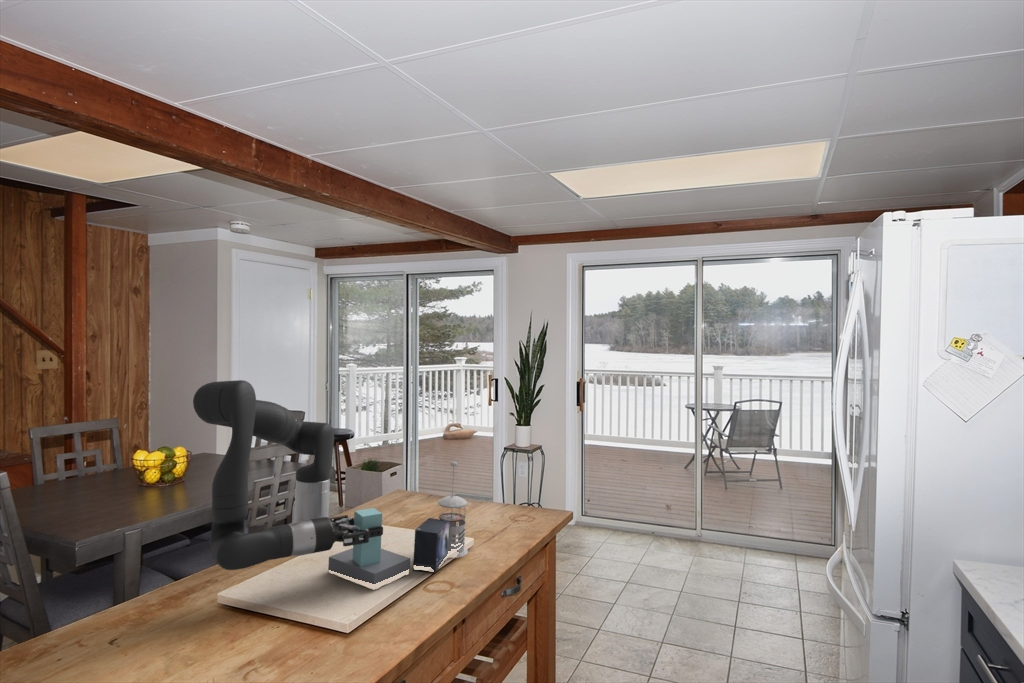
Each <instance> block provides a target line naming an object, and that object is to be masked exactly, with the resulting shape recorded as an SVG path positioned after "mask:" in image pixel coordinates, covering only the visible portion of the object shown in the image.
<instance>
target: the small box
mask: <svg viewBox="0 0 1024 683" xmlns="http://www.w3.org/2000/svg"><path fill="white" fill-rule="evenodd" d="M449 522H450V521H447V520H440V519H438V518H432V517H431V518H430V517H428V518H426V520H425V521H424V522H422V523H421V524H420V525H419V526H418V527H416V528H415V529H414V542H413V559H412V560H413V561H412V566H413V565H416V566H424V567H431V568H432V569H433V570H434V573H433V574H436V572H438V570H439V569H438V567H439V565H440V564H441V562H442V561H443V559H444V558H445V557H446V556H447V554H448V541H449Z"/></svg>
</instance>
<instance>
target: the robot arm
mask: <svg viewBox="0 0 1024 683" xmlns="http://www.w3.org/2000/svg"><path fill="white" fill-rule="evenodd" d="M192 404H193V409H194V412H195V414H196V415H197V416H198V418H199V419H201V421H203V422H204V423H206V424H209V425H215V426H223V427H227V428H231V438H230V443H229V444H228V445H229V446H228V448H227V450H226V453H225V455H224V456H223V458H222V460H221V462H220V464H219V466H218V467H217V469H216V472H215V474H214V477H213V481H212V485H211V511H212V522H211V531H210V543H209V544H210V545H209V547H210V555H211V558H212V560H213V561H214V562H215V563H216V564H217V565H218V566H219V567H221V568H222V569H223V570H227V571H236V570H243V569H246V568H250V567H254V566H256V565H259V564H262V563H264V562H267V561H271V560H277V559H283V558H289V557H297V556H298V557H300V556H305V555H311V554H316V553H322V552H326V551H330V550H331V549H332V548H333V545H334V544H335V543H336V542H339V543H342V546H343V547H351V546H353V545H357V544H363V543H368V542H369V538H371V537H377V536H381V537H382V536H383V534H384V527H383V526H376V527H370V528H360V527H359V526H354V516H349V515H348V514H347V515H346V514H345V515H339V516H334V517H329V514H330V511H329V510H330V492H331V491H330V489H331V488H330V487H331V471H332V467H333V466H332V465H333V454H334V445H335V443H334V442H335V431H334V428H333V426H332V425H331V424H330V423H327V422H316V421H302V420H301V421H300V420H296V416H295V414H294V413H293V412H292V411H291V410H290V409H288V408H287V407H285V406H282V405H281V404H279V403H275V402H272V401H268V400H259V399H257V395H256V392H255V389H254V386H253V385H252V384H251V383H250V382H248V381H247V380H242V379H241V380H240V379H238V380H224V381H222V380H221V381H212V382H209V383H205V384H204V385H202V386H200V387H198V388H197V390H196V391H195V393H194V396H193V398H192ZM253 437H255V438H258V439H260V440H263V441H265V442H268V443H272V444H276V445H283V446H284V447H286V448H288V449H289V450H290V451H292V452H295V453H296V454H299V455H308V456H314V457H313V462H312V463H310V464H307V465H303V466H300V467H298V468H297V470H295V471H296V472H295V490H294V491H295V492H294V494H295V495H294V496H295V497H294V504H293V505H292V518H291V519H292V520H291V523H288V524H287V523H286V524H281V525H276V526H269V527H266V528H264V529H263V530H261V531H257V532H253V533H248V534H245V533H246V532H245V528H246V527H245V520H246V518H247V516H248V514H249V483H248V482H249V466H250V465H249V464H250V456H251V451H252V450H251V448H252V444H253ZM354 531H355V533H354ZM361 535H363V536H361Z"/></svg>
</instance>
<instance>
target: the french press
mask: <svg viewBox="0 0 1024 683" xmlns="http://www.w3.org/2000/svg"><path fill="white" fill-rule="evenodd" d="M457 466H458V462H457V461H451V462H450V467H453V469H452V473H453V474H452V485H455V484H454V480H455V476H454V475H455V467H457ZM451 490H452V495H447V496H445V497H442V498H440V499H439V500H438V501H437V505H438V506H440V507H443V508H445V509H446V508H447V509H458V510H459V511H458V512H453V511H450V512H444V513H441V514H439V516H438V518H439V520H447V521H450V522H449V541H448V551H451V549H457V548H459V547H460V546H461V545H462V544H463V546H462V547H461V548H460V549H459V550H457V552H459V554H458V555H457V557H456V558H455V559H458V558H462V557H464V556H466V555H468V553H469V551H468V548H466V549H464V547H465V540H466V539H465V537H466V533H465V532H466V521H465V520H466V514H462V513H461V509H462V508H463V509H464V511H466V506H467V504H468V501H467V500H465V499H464V498H463V497H460V496H457V495H454V488H452V489H451ZM457 535H458V536H457ZM456 540H457V541H456ZM458 543H461V544H460V545H458V546H456V547H454V546H451V544H454V545H456V544H458Z"/></svg>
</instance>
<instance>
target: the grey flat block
mask: <svg viewBox="0 0 1024 683" xmlns="http://www.w3.org/2000/svg"><path fill="white" fill-rule="evenodd" d="M408 569H410V570H411V557H407V556H405V555H401V554H398V553H397V552H393V551H391V550H387V549H385V548H381V558H380V563H375V564H371V565H366V566H359V565H358V564H357V563H356V562H355V561H354V560H353V547H351V548H348V549H345V550H344V551H341V552H338V553H336V554H332V555H330V556H329V557H328V569H327V570H331V571H334V572H337V573H340V574H343V575H346V576H349V577H352V578H354V579H358V580H362V581H365V582H369V583H372V584H376V583H378V582H381V581H383V580H385V579H388V578H390V577H393V576H395V575H397V574H399V573H401V572H403V571H406V570H408Z"/></svg>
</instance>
